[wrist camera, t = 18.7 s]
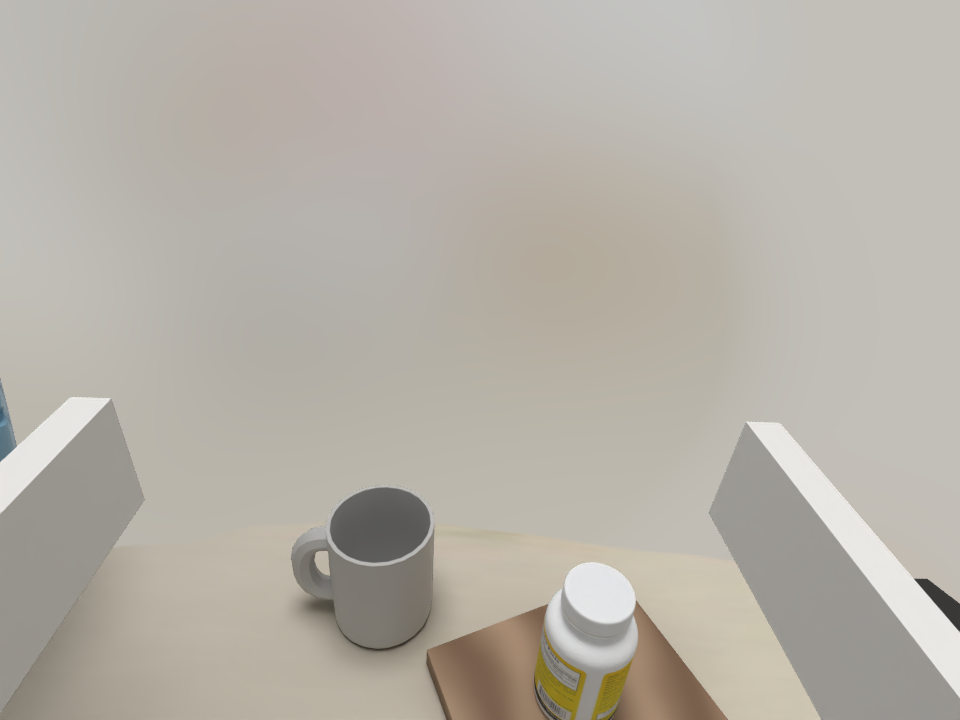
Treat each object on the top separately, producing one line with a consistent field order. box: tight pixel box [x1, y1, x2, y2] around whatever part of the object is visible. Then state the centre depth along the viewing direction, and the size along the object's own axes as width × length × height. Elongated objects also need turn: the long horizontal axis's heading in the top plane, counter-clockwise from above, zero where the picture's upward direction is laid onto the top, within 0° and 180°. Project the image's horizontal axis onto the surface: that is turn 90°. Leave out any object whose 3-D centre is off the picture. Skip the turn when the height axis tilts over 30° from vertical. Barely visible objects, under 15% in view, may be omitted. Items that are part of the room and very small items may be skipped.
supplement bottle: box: [534, 563, 638, 720], centre depth 32 cm, size 5×5×10 cm
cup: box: [291, 485, 434, 649], centre depth 38 cm, size 7×10×9 cm
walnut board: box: [427, 601, 728, 720], centre depth 35 cm, size 16×12×2 cm
